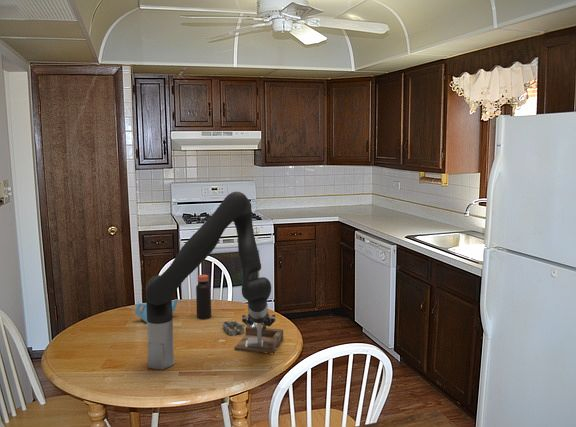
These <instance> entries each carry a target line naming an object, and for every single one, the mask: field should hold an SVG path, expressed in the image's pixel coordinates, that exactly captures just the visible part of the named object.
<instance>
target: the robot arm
mask: <svg viewBox="0 0 576 427" xmlns="http://www.w3.org/2000/svg"><path fill="white" fill-rule="evenodd" d="M252 212H253V211H252V203H251V201H250V199H249V198H248V197H247V196H246V195H245V194H244V193H243V192H241V191H233V192H230V193H229V194H227V195H226V197H224V199H223V200H222V202H221V203H220V204H219V205H218V207H217V208H216V209H215V211H214V212H213V213H212V215H211V216H210V217H209V218H208V219H207V220H206V221H205V222H204V223H203V224H202V225H201V226H200V227H199V228H198V229H197V230H196V231H195V233H193V235H192V236H190V238H188V240H187V241H186V242H185V243H184V245H183V246H181V248H180V249H179V251H178V253H177V254H176V256H175V257H174V260H173V261H172V262H171V263H170V265H169V267H167V269H166V270H164V271H163V273H162V274H158V275H154V276H152V277H150V278H149V280H148V281H147V282H146V285H145V303H146V309H147V323H146V325H147V326H146V327H147V328H146V330H147V344H146V347H147V349H146V350H147V368H148V369H155V370H165V369H167V368H169V367H170V368H171V367H172V366H174V364H175V353H174V351H175V350H174V321H173V320H174V318H173V314H174V312H173V313H172V302H173V300H172V299H173V298H172V297H173V295H174V294H175V292H177V291H178V288H179V287H180V286H181V285H182V283H183V282H184V281H185V280H186V279H187V278H188V277H189V276H190V275H191V274H192V273H193V272H194V271H195V270H196V269H197V268H198V267H199V266H200V265H201V264H202V263H203V262H204V261H205V260H206V258H207V257H208V256H209V255H210V254H211V253H212V252H213V251H214V250H215V248H216V247H217V244H218V243H219V241H220V239H221V237H222V235H223V234H224V232H225V230H226V229H227V228H228V226H230V225H231V223H232V222H233V223H234V226H235V230H236V235H237V250H238V257H239V261H240V266H241V271H242V272H241V275H242V279H241V282H242V283H241V295H242V297H243V298H244V300H246V301H247V304H248V305H247V313H248V314H247V315H245V314H242V316H241V322H242V324H243V323H244V325H245V326H246V327H247V326H248V327H253V329H255V330H256V327H257V323H261V328H263V330H264V329H266V328H267V327H271V326H272V325H273V324H274V323H275V322H276V315H275V314H272V315H270V314H269V308H268V307H269V306H268V299H269V297H270V296H271V293H272V284H271V281H270V280H269V278H267V277H264V276H261V277H257V278H251V279H250V277H251V276H252V275H254V274H256V273H258V272H259V271H261V270H262V264H261V259H260V254H259V250H258V246H257V242H256V237H255V233H254V227H253V226H254V225H253V216H252V215H253V214H252Z"/></svg>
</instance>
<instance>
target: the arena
mask: <svg viewBox="0 0 576 427" xmlns="http://www.w3.org/2000/svg"><path fill="white" fill-rule="evenodd" d="M261 335H262V342H261V347H247V342H248V338H257V326H256V330H255V329H253V327H252V326H250V327H249V326H247V325H246V327H245V335H244V336H243V337H242V338H241V340H239V341H238V342H237V344H236V345H235V346H234V347H233V349H234V351H240V350H241V352H242V351H243V352H250V351H252V353H259V352H267V353H266V354H269V353H273V354H275V352H274V351H277V349H278V347H279V346H280V344H281V343H282V342H283V340H284V329H278V328H270V327H269V328H268V327H266V329H264V330H263V328H262V327H261ZM282 339H283V340H282ZM280 342H281V343H280ZM278 345H279V346H278ZM276 348H277V349H276Z"/></svg>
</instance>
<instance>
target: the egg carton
mask: <svg viewBox="0 0 576 427" xmlns="http://www.w3.org/2000/svg"><path fill="white" fill-rule="evenodd" d="M221 322H222V331H225V333H228V335H229V336H233V335H234V336H236V335H237V334H238V333H239V334H238V335H243V334H242V333H243V332H244V331H245V328H244V327H245V323H244V324H243V323H240V322H238V321H237V320H234V321H232V320H226V321H221ZM235 328H236V329H235ZM244 333H245V332H244Z"/></svg>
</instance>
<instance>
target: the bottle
mask: <svg viewBox="0 0 576 427" xmlns="http://www.w3.org/2000/svg"><path fill="white" fill-rule="evenodd" d="M197 282H198V284H197V285H196V286H195V294H196V295H195V296H196V299H195V300H196V301H195V303H196V318H197V319H199V320H208V319H211V318H212V295H211V294H212V288H211V287H212V286H211V284H210V283H209V275H208V274H199V275H198V276H197Z"/></svg>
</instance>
